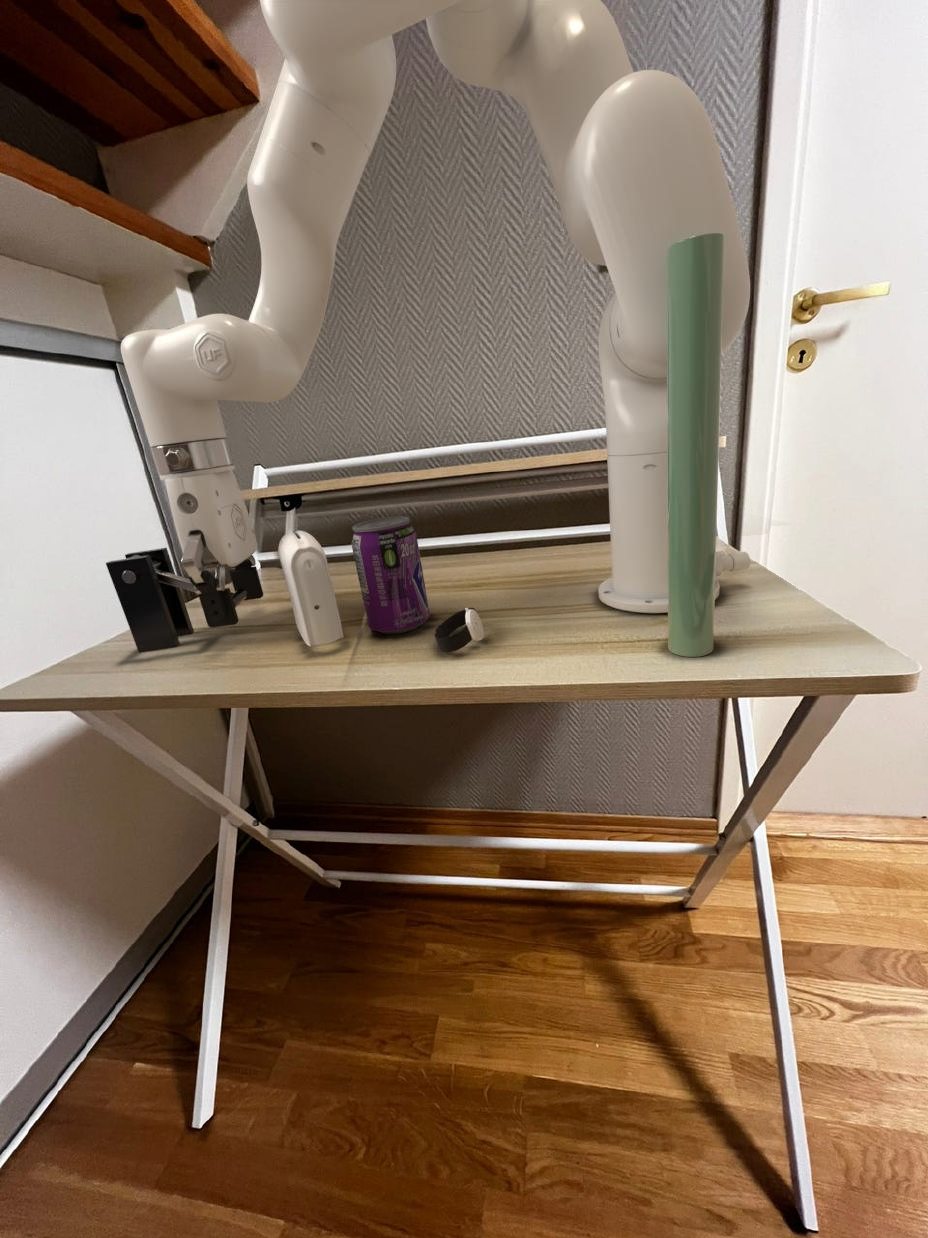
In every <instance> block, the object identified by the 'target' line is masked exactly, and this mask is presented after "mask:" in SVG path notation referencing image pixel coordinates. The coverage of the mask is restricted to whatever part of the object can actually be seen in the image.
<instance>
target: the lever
mask: <svg viewBox="0 0 928 1238" xmlns="http://www.w3.org/2000/svg"><path fill="white" fill-rule="evenodd" d="M135 557H141V556H139V555H134V556H132V557H130V558H135ZM127 559H128V558H127ZM151 560H152V559H151ZM152 563H153V566H154V569H155V572H156V575H157V578H158V580H159V582H163V583H166V584H169V585H172V586H176V587H179V588H180V589H183V590H186V591H189V592H192V593H195V594H196V592H195V589H194V585H193V584H192V583H191V582H190V579H189V578H187V577H184V576H181V575H178V574H175V575H174V574H171V573H168V572H165V571H162V570H160V567H161V562H158V561H155V560H152ZM231 595H232V598H233V602H234V605H235V609H236V608H237V607H238V606H239V605H240V604H241V603H242V602H244V601H243V600H244V599H245V598H246V597H247V592H246V590H244V589H238V590H237V591H236V592H235V591H234V592H232V591H231Z"/></svg>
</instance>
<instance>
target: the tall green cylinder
mask: <svg viewBox="0 0 928 1238" xmlns="http://www.w3.org/2000/svg"><path fill="white" fill-rule="evenodd" d="M724 247H725V235H724V234H722V233H708V234H702V235H697V236H693V237H690V238H686V239H683V240H681V241H678V242H676V243H674V244H672V245H670V246H669V247H668V248H667V496H668V613H667V648H668V650H669V652H670V653H672V654H674V655H677V656H680V657H686V658H696V657H703V656H707V655H709V654H711V653H712V652H713V650H714V637H715V606H716V605H715V602H716V599H715V579H716V577H715V569H716V552H717V534H718V533H717V530H718V528H717V527H718V498H719V497H718V495H719V493H718V492H719V458H720V457H719V455H720V427H721V426H720V423H721V422H720V421H721V420H720V419H721V387H722V386H721V385H722V355H723V354H722V319H723V283H724Z"/></svg>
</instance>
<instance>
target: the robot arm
mask: <svg viewBox="0 0 928 1238" xmlns="http://www.w3.org/2000/svg"><path fill="white" fill-rule="evenodd" d="M259 4H260V8H261V13H262V15H263V18H264V20H265V23H266V25H267V28H268V30H269V32H270V35H271V36H272V38H273V39H274V41H275V43H276V45H277V47H278V48H279V50H280V51H281V53H282V54H283V57H284V61H283V64H282V67H281V70H280V74H279V76H278V80H277V83H276V87H275V90H274V93H273V95H272V99H271V102H270V106H269V109H268V112H267V115H266V118H265V120H264V124H263V125H262V126H263V127H262V130H261V133H260V136H259V139H258V141H257V142H258V143H257V146H256V148H255V152H254V154H253V157H252V160H251V162H250V166H249V169H248V172H247V178H246V184H247V185H246V186H247V187H246V188H247V195H248V201H249V206H250V210H251V213H252V218H253V220H254V225H255V229H256V231H257V236H258V241H259V246H260V255H261V256H260V257H261V267H260V269H261V270H260V272H261V273H260V278H259V285H258V290H257V294H256V298H255V301H254V304H253V307H252V309H251V312H250V315H249V318H248V319H243V318H241V317H239V316H235V315H232V314H228V313H212V314H206V315H203V316H199V317H197V318H194V319H192V320H190V321H187V322H185V323H183V324H179V325H177V326H174V327H171V328H156V329H155V328H154V329H146V330H145V329H144V330H139V331H135V332H132V333H130V334H128V335H126V336H125V337H124V338H123V339H122V340H121V343H120V354H121V358H122V360H123V362H122V363H123V365H124V367H125V368H124V369H125V371H126V374H127V376H128V381H129V384H130V388H131V390H132V394H133V396H134V397H133V398H134V400H135V403H136V406H137V409H138V412H139V416H140V419H141V422H142V425H143V428H144V431H145V434H146V437H147V441H148V443H149V447H150V451H151V454H152V458H153V460H154V464H155V466H156V469H157V473H158V475H159V478H160V481H165V485H166V491H167V497H168V501H169V506H170V510H171V515H172V519H173V523H174V527H175V530H176V534H177V537H178V542H179V545H180V548H181V551H182V556H181V558H180V559H181V560H180V561H181V565H182V567H183V569H184V571H185V572H186V574H187V576H188V579H190V582H191V583H192V584H193V585H194V589H195V592H196V593H195V592H194V593H195V594H196V595H197V596H198V598H199V602H200V605H201V608H202V612H203V614H204V615H203V616H204V617H205V621H206V624H207V626H208V628H211V629H213V628H220V627H227V626H234V625H237V623H239V622H240V621H239V616H238V612H237V609H236V608H235V605H234V602H233V598H232V595H231V592H232V591H231V589H230V587H227V588H226V565H227V566H228V567H230V568H231V569H230V570H228V572H229V577H230V579H231V583H232V586H233V590H234V593H235V592H236V591H237V590H238V589H244V590H246V592H247V597H246V598H245V599H244V600H243V601H242V602H244V601H251V600H258V599H262V598H263V597H264V591H263V587H262V583H261V579H260V575H259V571H258V568H257V566H256V564H257V563H256V558H255V557H254V554H255V553H256V552H257V549H258V547H259V545H258V541H257V538H256V533H255V531H254V527H253V523H252V521H251V517H250V515H249V511H248V508H247V505H246V502H245V499H244V497H243V493H242V491H241V488H240V486H239V483H238V481H237V480H238V479H237V478H236V476H235V473H234V472H233V471H235V470H236V466H235V462H234V459H233V455H232V451H231V447H230V443H229V439H228V436H227V432H226V429H225V424H224V421H223V417H222V413H221V409H220V406H219V402H218V401H231V402H232V401H234V402H256V403H276V402H278V401H281V400H283V399H285V398H287V396H289V395H290V394H292V392H293V391H294V390H295V388H296V387H297V386H298V384H299V382H300V380H301V379H302V377H303V374H304V373H305V370H306V367H307V366H308V362H309V361H310V358H311V355H312V354H313V350H314V348H315V346H316V343H317V341H318V338H319V335H320V333H321V330H322V326H323V323H324V320H325V315H326V311H327V306H328V301H329V296H330V291H331V286H332V285H331V284H332V280H333V275H334V270H335V264H336V252H337V247H338V243H339V238H340V235H341V231H342V229H343V226H344V224H345V222H346V218H347V216H348V214H349V211H350V208H351V206H352V203H353V200H354V197H355V194H356V192H357V189H358V186H359V184H360V181H361V179H362V176H363V174H364V171H365V168H366V167H367V164H368V161H369V158H370V157H371V155H372V153H373V151H374V150H373V149H374V147H375V144H376V142H377V139H378V137H379V134H380V131H381V129H382V126H383V124H384V121H385V118H386V115H387V113H388V111H389V109H390V105H391V103H392V99H393V96H394V92H395V87H396V81H397V57H396V48H395V44H394V38H393V35H394V34H397V33H399V32H400V31H401V32H402V31H403V30H405V29H407V28H409V27H411V26H414V25H416V24H417V23H420V22H422V21H424V20H425V22H426V29H427V32H428V35H429V39H430V41H431V44H432V46H433V50H434V52H435V54H436V56H437V58H438V59H439V61H440V63H441V64H442V66H443V67H444V68H445V69H446V70H447V71H448V72H449V74H451V75H452V76H453V77H454V78H456V79H457V80H459V81H461V82H463V83H464V84H467V85H470V86H473V87H477V88H481V89H483V88H484V89H489V90H494V91H498V92H501V93H503V94H506V95H507V96H509V97H511V98H512V99H513V100H515V101H516V102H517V103H518V104H519V105H520V107H521V109H522V110H523V111H524V113H525V115H526V117H527V119H528V122H529V124H530V126H531V128H532V131H533V133H534V136H535V138H536V140H537V144H538V146H539V148H540V150H541V153H542V156H543V160H544V163H545V165H546V169H547V171H548V174H549V177H550V181H551V183H552V186H553V190H554V192H555V195H556V198H557V202H558V205H559V208H560V212H561V215H562V218H563V221H564V225H565V229H566V231H567V234H568V236H569V238H570V241H571V243H572V244H573V246H574V247H575V248H576V250H577V251H578V253H579V254H580V255H581V256H582V257H583V258H584V259H586V261H589V262H591V264H594V265H598V266H604V267H606V268H607V271H608V275H609V277H610V280H611V283H612V286H613V290H614V293H613V294H612V296H611V298H610V299H609V301H608V303H607V305H606V307H605V309H604V312H603V314H602V318H601V320H600V325H599V330H598V339H597V341H598V342H597V344H598V347H597V348H598V349H597V351H598V363H599V370H600V380H601V385H602V393H603V395H602V396H603V402H604V403H603V405H604V416H605V433H606V459H607V463H606V464H607V484H608V487H607V488H608V510H609V511H608V513H609V534H610V557H611V559H610V560H611V577H609V578H607V579H605V580H604V581H602V582H601V583H600V584H599V585H598V599H599V600H600V601H601V602H602V604H605V605H607V606H608V607H611V608H614V609H617V610H621V611H626V612H631V613H640V614H641V613H642V614H665V613H666V614H668V496H667V248H668V247H669V246H670V245H672V244H674V243H676V242H678V241H681V240H683V239H686V238H690V237H693V236H697V235H702V234H708V233H722V234H724V235H725V247H724V283H723V319H722V354H721V355H723V354H724V353H725V352H726V351H727V350H728V349H729V348H730V347H731V345H732V344H733V343H734V342H735V340H736V338H737V337H738V336H739V334H740V332H741V330H742V328H743V325H744V323H745V320H746V318H747V315H748V311H749V306H750V299H751V278H750V277H751V276H750V269H749V262H748V258H747V254H746V249H745V245H744V240H743V237H742V232H741V229H740V225H739V221H738V216H737V213H736V209H735V205H734V201H733V197H732V193H731V190H730V186H729V182H728V181H729V180H728V178H727V174H726V170H725V165H724V161H723V158H722V154H721V150H720V147H719V143H718V140H717V137H716V134H715V130H714V126H713V124H712V120H711V119H710V117H709V114H708V112H707V110H706V108H705V106H704V104H703V102H701V99H700V98H699V97H698V95H697V94H696V92H695V91H694V90H693V89H692V88H691V87H690V86H689V85H688V84H687V83H686V82H684V81H683V80H682V79H680V78H679V77H677V76H675V75H674V74H672V73H669V72H667V71H663V70H658V69H644V70H643V69H642V70H638V71H634V70H633V67H632V64H631V62H630V59H629V55H628V53H627V52H628V51H627V49H626V45H625V43H624V40H623V38H622V35H621V33H620V30H619V27H618V25H617V23H616V21H615V19H614V16H613V15H612V14H611V12H610V11H609V9H608V7H607V6H606V5H605V3H604V2H603V1H602V0H259ZM750 566H751V557H750V555H749V553H748V552H747V551H740V552H739V551H738V552H733V553H728V554H725V551H724V550H719V551H716V569H715V600H716V599H717V598H718V597H720V582H719V581H718V580H717V579H716V577H720V576H721V574H722V573H723V572H736V571H737V572H738V571H744V570H748V569H749V568H750ZM212 573H215V574H214V575H215V576H214V575H213V574H212Z"/></svg>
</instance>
